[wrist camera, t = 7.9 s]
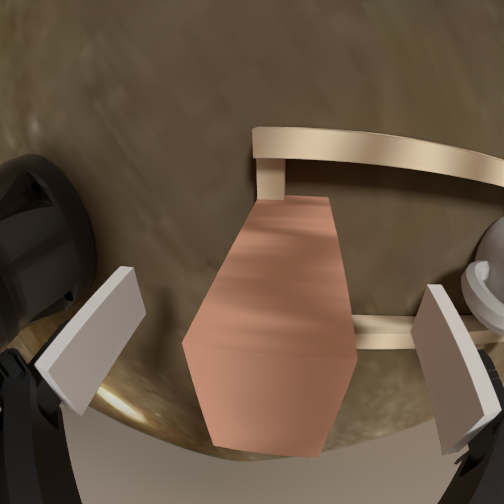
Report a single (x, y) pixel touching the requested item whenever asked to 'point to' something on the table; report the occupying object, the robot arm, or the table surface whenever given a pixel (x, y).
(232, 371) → the frame
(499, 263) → the cup
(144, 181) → the table surface
